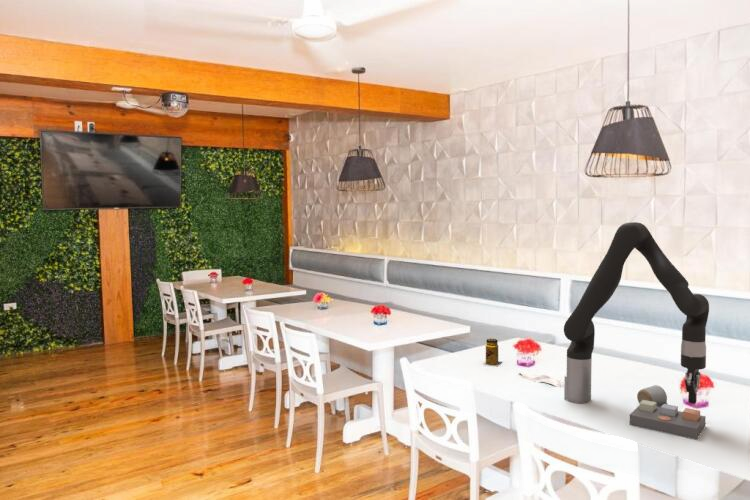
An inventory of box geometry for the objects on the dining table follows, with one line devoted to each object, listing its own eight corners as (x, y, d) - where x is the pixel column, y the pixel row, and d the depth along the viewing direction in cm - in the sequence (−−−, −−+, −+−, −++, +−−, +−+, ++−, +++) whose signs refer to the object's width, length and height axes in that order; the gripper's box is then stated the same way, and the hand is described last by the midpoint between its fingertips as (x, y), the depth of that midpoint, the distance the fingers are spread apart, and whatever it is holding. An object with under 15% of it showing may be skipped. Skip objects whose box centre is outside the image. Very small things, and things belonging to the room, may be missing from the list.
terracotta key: (682, 420, 200) (682, 411, 200) (685, 416, 204) (685, 407, 204) (697, 423, 197) (697, 414, 197) (700, 419, 201) (700, 410, 201)
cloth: (578, 387, 249) (578, 382, 249) (554, 392, 242) (554, 387, 242) (535, 372, 272) (535, 367, 271) (512, 376, 265) (512, 371, 265)
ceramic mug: (635, 405, 224) (635, 385, 223) (650, 401, 227) (651, 382, 227) (658, 414, 214) (659, 394, 214) (674, 411, 218) (675, 391, 217)
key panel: (629, 424, 205) (629, 413, 204) (640, 413, 215) (641, 402, 215) (696, 439, 191) (697, 427, 191) (705, 426, 202) (705, 415, 202)
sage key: (639, 411, 209) (639, 403, 209) (642, 408, 213) (643, 399, 212) (652, 414, 206) (653, 405, 206) (656, 410, 210) (656, 402, 210)
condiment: (482, 364, 283) (482, 340, 282) (488, 360, 290) (488, 336, 289) (497, 366, 279) (497, 341, 278) (502, 362, 287) (502, 338, 286)
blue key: (660, 416, 205) (660, 407, 204) (663, 412, 208) (663, 403, 208) (674, 419, 202) (674, 409, 202) (677, 415, 205) (677, 406, 205)
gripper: (685, 347, 206) (684, 395, 208) (676, 355, 196) (675, 406, 197) (709, 350, 201) (708, 400, 203) (701, 359, 191) (700, 410, 193)
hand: (692, 403), depth 200 cm, fingers closed
